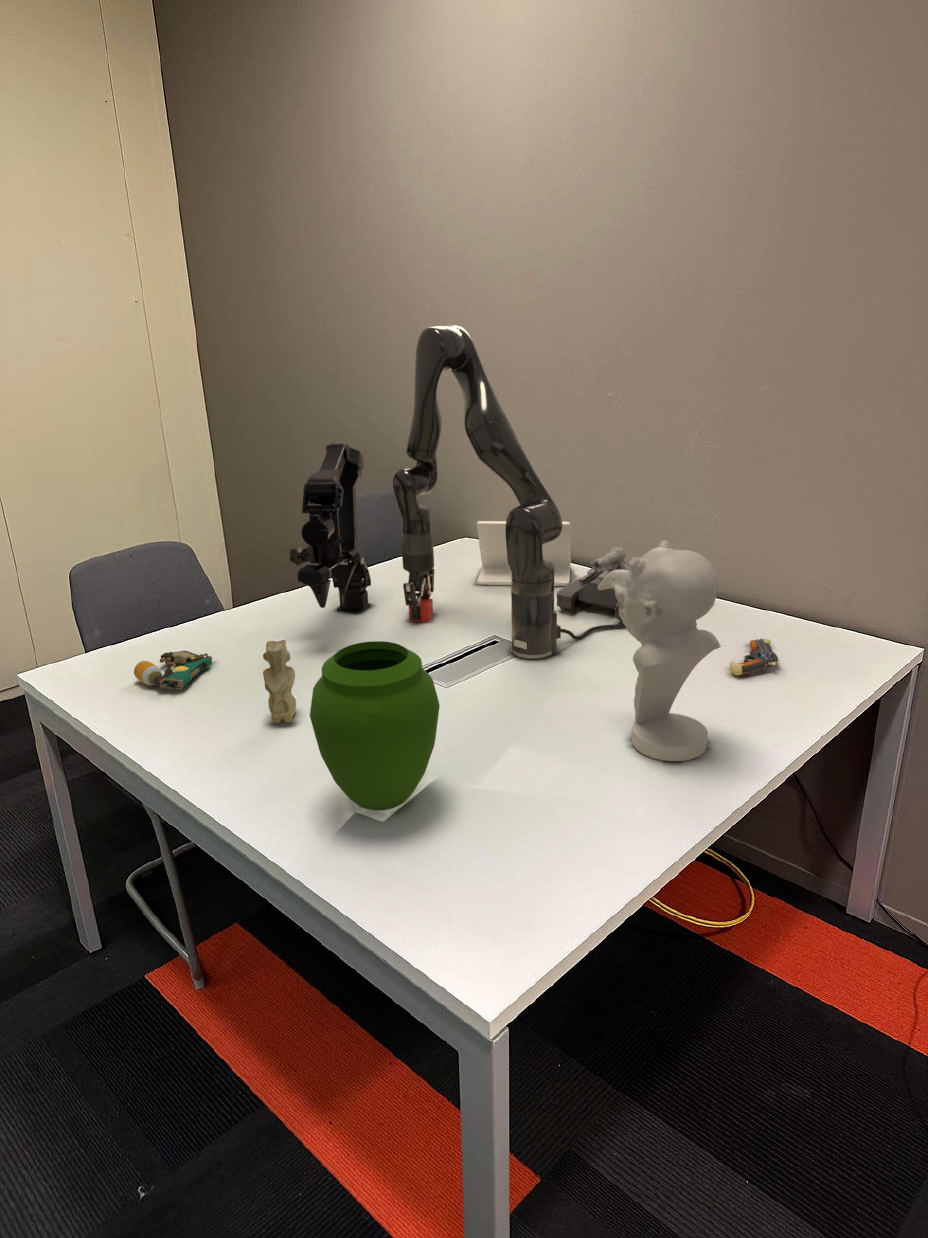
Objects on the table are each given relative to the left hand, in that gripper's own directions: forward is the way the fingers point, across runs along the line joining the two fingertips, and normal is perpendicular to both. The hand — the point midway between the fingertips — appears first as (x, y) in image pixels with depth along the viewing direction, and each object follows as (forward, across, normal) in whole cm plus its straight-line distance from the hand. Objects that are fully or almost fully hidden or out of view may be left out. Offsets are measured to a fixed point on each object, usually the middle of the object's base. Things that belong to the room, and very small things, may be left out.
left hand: (332, 600), depth 194 cm
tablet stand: (+10, -58, +28) cm, 66 cm away
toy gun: (+10, -15, +91) cm, 93 cm away
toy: (+10, -41, +57) cm, 71 cm away
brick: (+10, -19, +13) cm, 25 cm away
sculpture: (+10, +38, +9) cm, 40 cm away
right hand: (+9, -19, +13) cm, 25 cm away
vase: (+10, +57, +39) cm, 70 cm away
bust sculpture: (+10, +25, +76) cm, 80 cm away
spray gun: (+10, +28, -23) cm, 37 cm away
